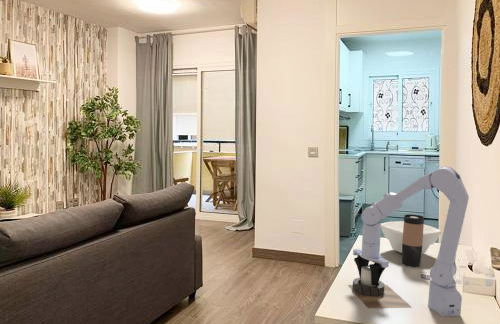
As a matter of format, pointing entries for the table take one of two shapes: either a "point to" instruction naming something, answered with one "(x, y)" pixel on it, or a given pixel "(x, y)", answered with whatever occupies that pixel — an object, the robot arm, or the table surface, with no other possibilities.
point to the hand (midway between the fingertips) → (368, 281)
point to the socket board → (378, 295)
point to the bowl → (395, 235)
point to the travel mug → (412, 240)
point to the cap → (366, 276)
